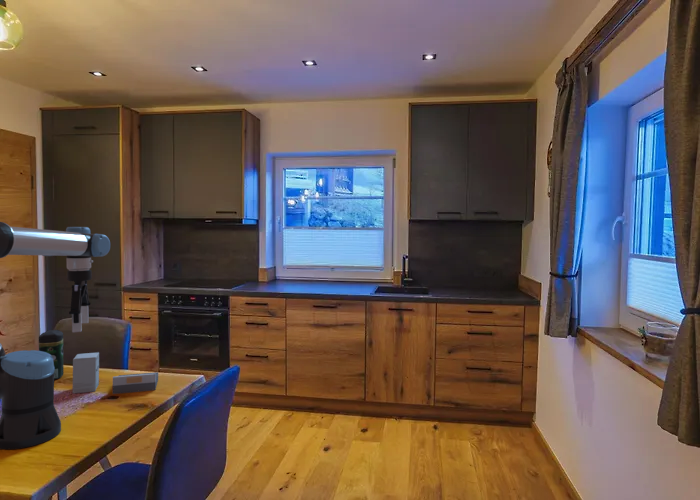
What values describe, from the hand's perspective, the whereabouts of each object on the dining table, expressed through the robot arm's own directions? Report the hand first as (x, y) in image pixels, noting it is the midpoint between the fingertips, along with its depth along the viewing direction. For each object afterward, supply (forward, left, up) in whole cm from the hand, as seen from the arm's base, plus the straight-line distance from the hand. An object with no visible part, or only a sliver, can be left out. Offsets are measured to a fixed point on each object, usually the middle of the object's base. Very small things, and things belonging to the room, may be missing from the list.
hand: (80, 327), depth 154 cm
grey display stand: (-2, -19, -23) cm, 30 cm away
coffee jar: (+18, +14, -23) cm, 33 cm away
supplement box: (0, -2, -23) cm, 23 cm away
